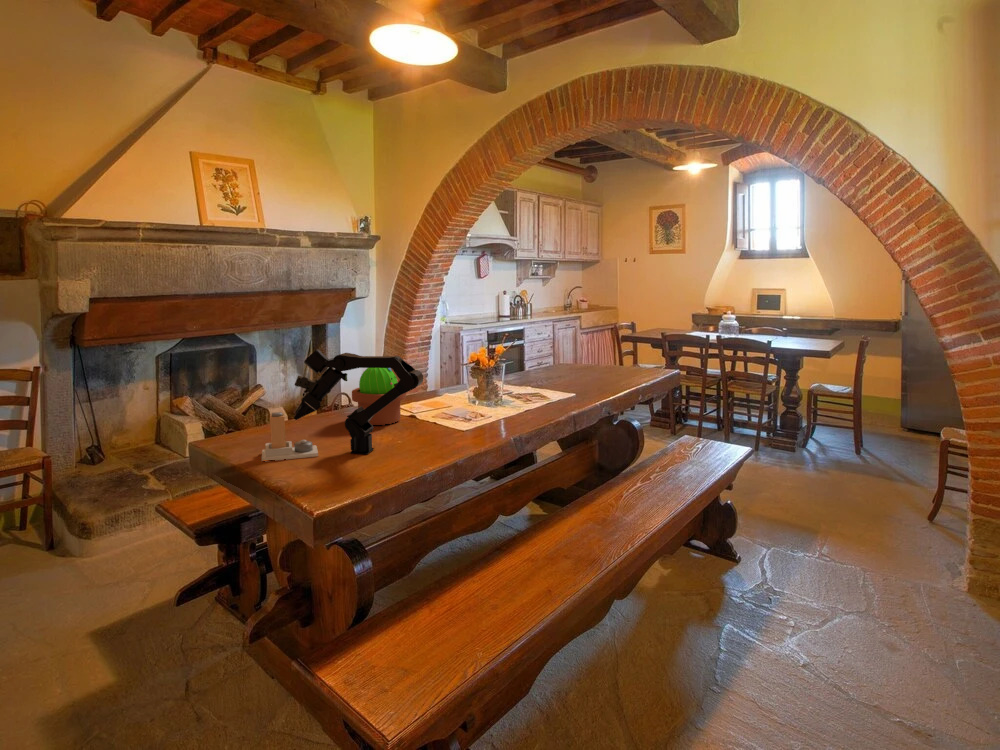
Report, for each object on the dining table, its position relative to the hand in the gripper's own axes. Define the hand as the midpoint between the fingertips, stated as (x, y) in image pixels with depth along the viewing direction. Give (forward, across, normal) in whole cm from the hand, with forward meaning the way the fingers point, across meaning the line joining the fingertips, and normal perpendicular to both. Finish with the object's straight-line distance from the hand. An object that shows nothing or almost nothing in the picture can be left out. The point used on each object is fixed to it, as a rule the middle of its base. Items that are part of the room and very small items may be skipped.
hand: (295, 416), depth 201 cm
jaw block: (+13, 0, +4) cm, 13 cm away
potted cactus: (-13, -40, +31) cm, 53 cm away
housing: (+11, 0, +8) cm, 14 cm away
